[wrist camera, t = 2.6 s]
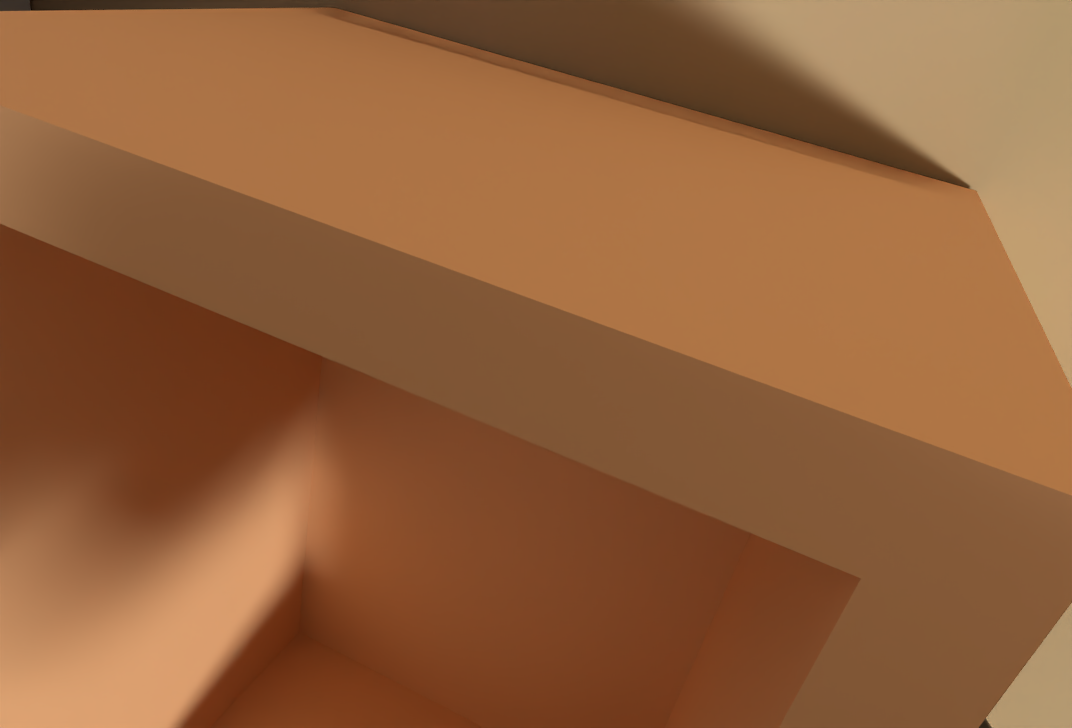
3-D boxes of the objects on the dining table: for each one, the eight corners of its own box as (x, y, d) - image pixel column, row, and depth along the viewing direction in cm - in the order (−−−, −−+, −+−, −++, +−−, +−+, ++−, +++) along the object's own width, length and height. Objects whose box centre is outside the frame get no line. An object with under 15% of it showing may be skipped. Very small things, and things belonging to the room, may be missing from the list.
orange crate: (976, 190, 7) (1136, 516, 2) (671, 813, 11) (538, 1319, 7) (333, 7, 8) (-252, 13, 4) (288, 616, 13) (-15, 930, 8)
